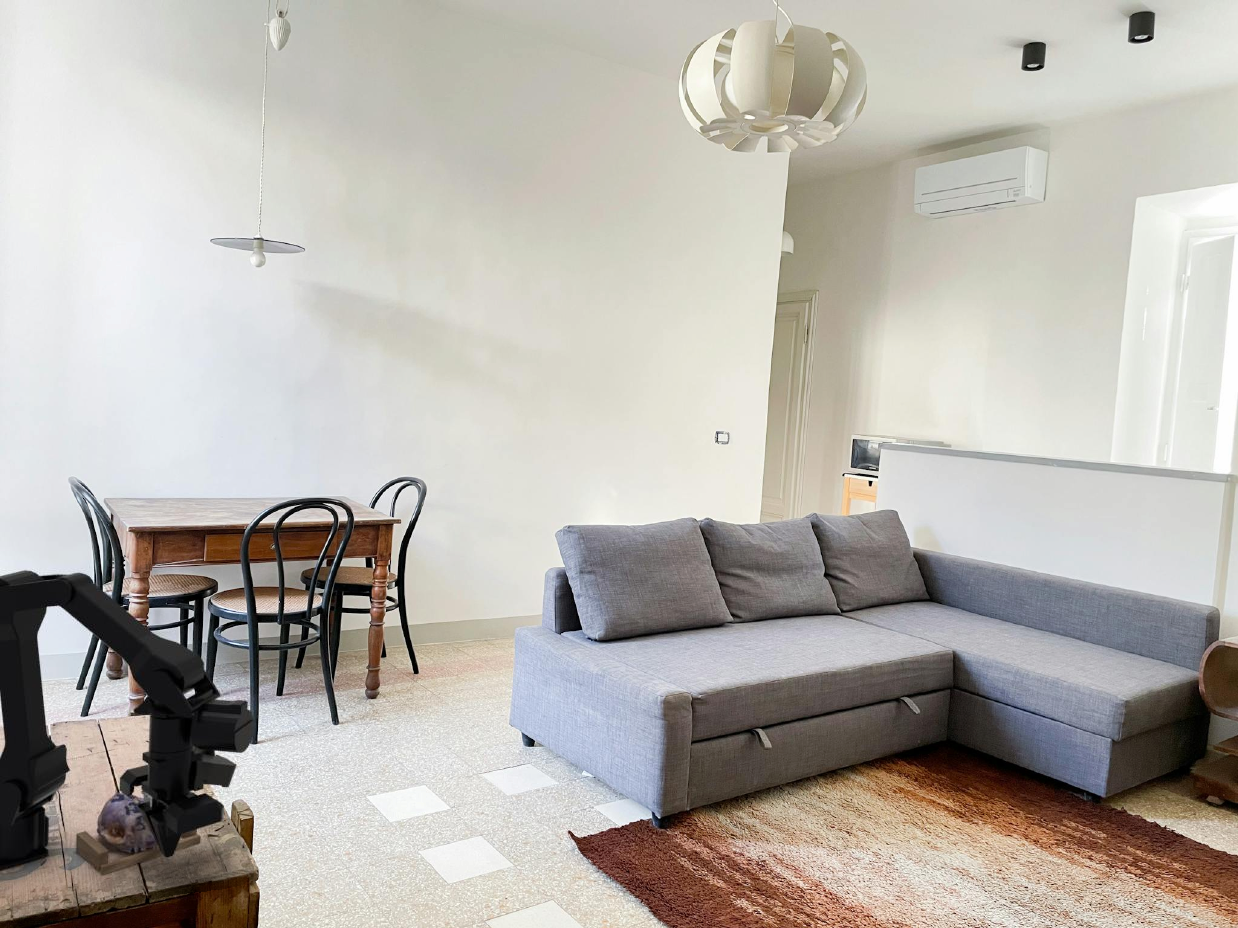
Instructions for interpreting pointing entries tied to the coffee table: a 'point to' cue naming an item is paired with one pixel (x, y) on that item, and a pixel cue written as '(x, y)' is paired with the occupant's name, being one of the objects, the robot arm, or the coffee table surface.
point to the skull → (125, 824)
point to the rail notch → (100, 857)
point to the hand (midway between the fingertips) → (168, 855)
